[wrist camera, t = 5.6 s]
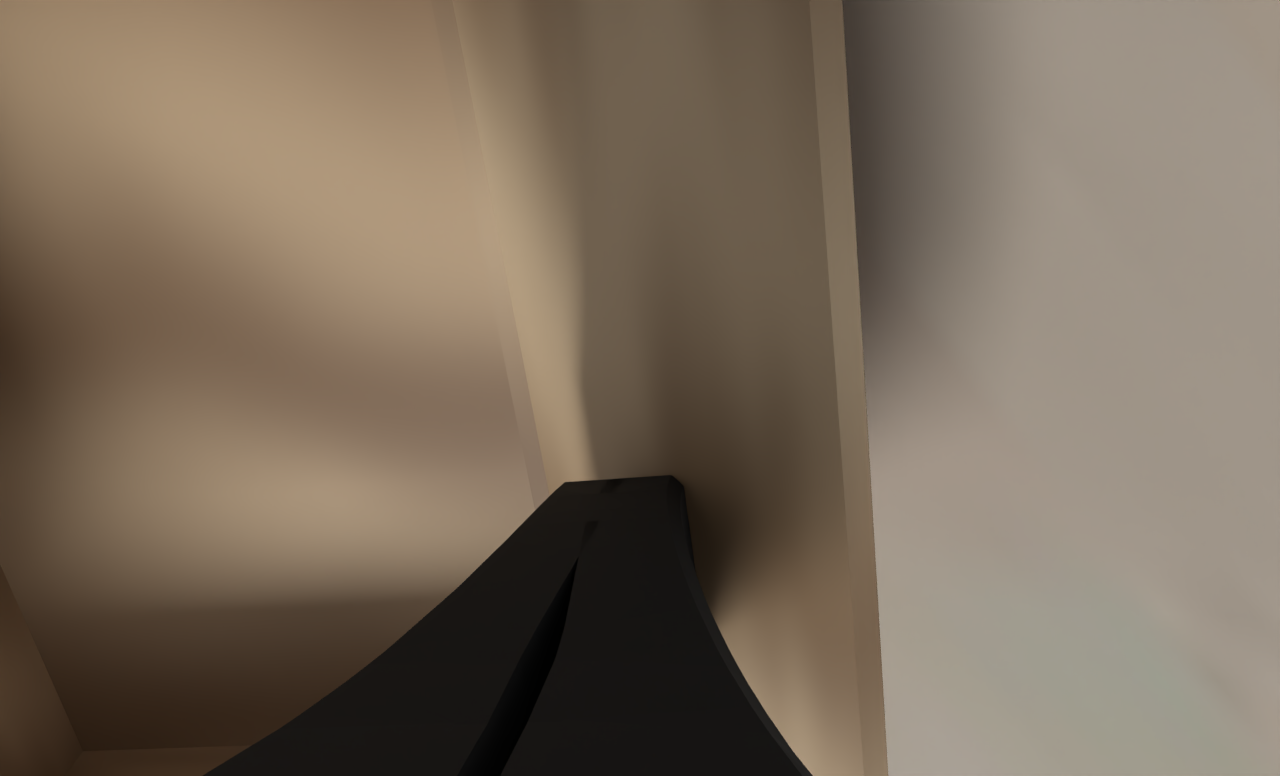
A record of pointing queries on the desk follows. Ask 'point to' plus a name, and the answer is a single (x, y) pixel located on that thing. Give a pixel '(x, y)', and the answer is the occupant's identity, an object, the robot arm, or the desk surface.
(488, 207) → the carton
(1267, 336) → the desk surface
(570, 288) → the flap
